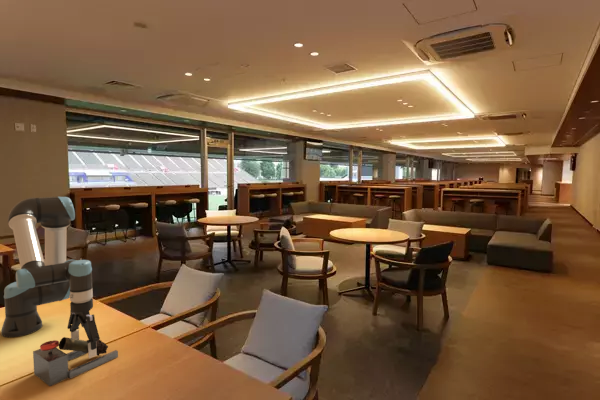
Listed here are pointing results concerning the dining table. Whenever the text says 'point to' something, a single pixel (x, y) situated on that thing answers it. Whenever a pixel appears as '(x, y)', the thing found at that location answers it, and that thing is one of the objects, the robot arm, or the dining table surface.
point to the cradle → (62, 363)
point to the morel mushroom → (81, 345)
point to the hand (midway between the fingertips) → (83, 351)
